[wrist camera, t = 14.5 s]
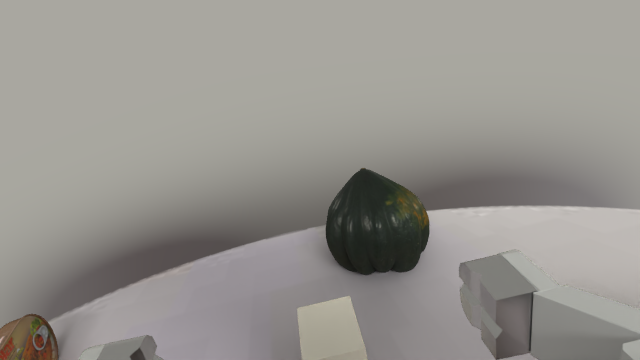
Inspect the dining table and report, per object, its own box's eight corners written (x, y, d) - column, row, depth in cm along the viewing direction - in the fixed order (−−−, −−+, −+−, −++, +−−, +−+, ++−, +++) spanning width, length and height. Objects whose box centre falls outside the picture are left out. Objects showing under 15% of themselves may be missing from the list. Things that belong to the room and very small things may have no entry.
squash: (401, 280, 44) (414, 159, 48) (298, 263, 53) (316, 161, 56) (433, 287, 56) (442, 189, 59) (345, 272, 64) (357, 187, 68)
